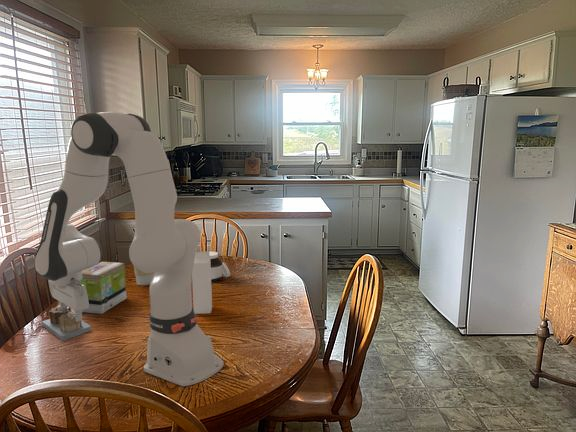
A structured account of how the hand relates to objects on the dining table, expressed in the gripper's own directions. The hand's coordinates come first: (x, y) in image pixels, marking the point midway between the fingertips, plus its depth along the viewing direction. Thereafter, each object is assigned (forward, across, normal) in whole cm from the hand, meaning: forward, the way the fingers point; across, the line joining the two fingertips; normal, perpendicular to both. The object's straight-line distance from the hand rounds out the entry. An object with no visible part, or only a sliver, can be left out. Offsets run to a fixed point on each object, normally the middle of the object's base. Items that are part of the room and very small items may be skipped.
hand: (71, 316), depth 134 cm
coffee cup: (+5, +24, -40) cm, 47 cm away
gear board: (+5, +5, 0) cm, 7 cm away
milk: (+6, -18, -38) cm, 42 cm away
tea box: (+5, +14, -17) cm, 22 cm away
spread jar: (+6, +5, -63) cm, 63 cm away
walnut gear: (+4, +9, 0) cm, 9 cm away
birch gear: (+4, 0, 0) cm, 4 cm away
